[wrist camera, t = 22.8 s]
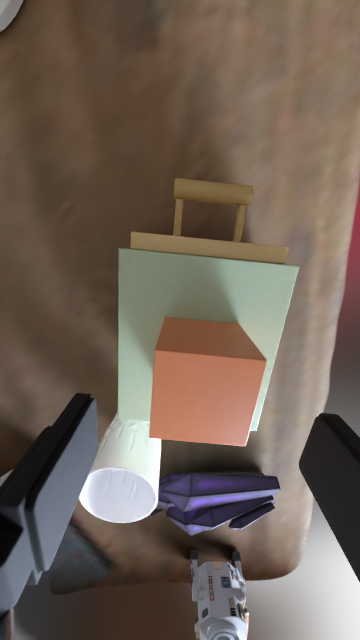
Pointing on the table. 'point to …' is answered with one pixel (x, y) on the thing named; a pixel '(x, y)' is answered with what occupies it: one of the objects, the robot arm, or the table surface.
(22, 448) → the table surface
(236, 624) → the figurine
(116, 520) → the white cup
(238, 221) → the drawer
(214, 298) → the cabinet
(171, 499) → the crystal
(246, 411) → the plain salmon cube
